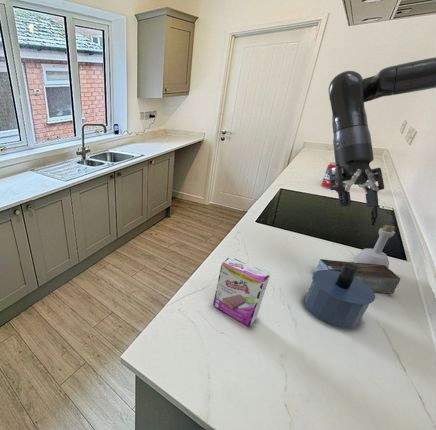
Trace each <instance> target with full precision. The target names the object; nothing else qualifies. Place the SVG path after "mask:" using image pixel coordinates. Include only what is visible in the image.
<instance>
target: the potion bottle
mask: <svg viewBox="0 0 436 430" xmlns="http://www.w3.org/2000/svg"><path fill="white" fill-rule="evenodd" d="M395 228H396V226H394V225H385V224H383V226H382V227H380V228H379V229H378V235H379V237H378V238H377V241H376V242H375V245H374V246H373V248H369V247H368V248H363V249H361V250H360V251H359V252H358V253H357V254H356V255H355V256H354V257H353V262H355V263H367V264H378V265H385V266H386V267H387V268H388V269H390V260H389V257H388V255H387V253H385V252H383V250H384V248H385V246H386V244H387V242H388V240H389V239H390V238H392V237H394V235H395V234H396V232H395Z"/></svg>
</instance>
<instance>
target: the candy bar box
mask: <svg viewBox="0 0 436 430" xmlns="http://www.w3.org/2000/svg"><path fill="white" fill-rule="evenodd" d="M270 278H271V274H270V273H268V272H266V271H263V270H262V269H259V268H257V267H255V266H253V265H250V264H248V263H246V262H243V261H241V260H239V259H237V258H234V257H232V256H228V257H227V258H226V259H225V260H224V261H222V263H221V265H220V270H219V275H218V279H217V284H216V289H215V294H214V298H213V303H212V307H214V308H216V309H217V310H219V311H221V312H223V313H224V314H226V315H228V316H230V317H231V318H233V319H234V320H236V321H238V322H240V323H241V324H243V325H245V326H247V327H249V328H250V327H251V326H252V324H253V323H254V322H255V320H256V319H257V317H258V314H259V311H260V308H261V305H262V301H263V298H264V296H265V292H266V289H267V286H268V284H269V280H270Z"/></svg>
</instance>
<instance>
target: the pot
mask: <svg viewBox="0 0 436 430" xmlns="http://www.w3.org/2000/svg"><path fill="white" fill-rule="evenodd" d="M304 305H305V307H306V309H307V310H308V311H309V313H311V315H313V316H314V317H315V318H317V319H318V320H320V321H322V322H324V323H325V324H328V325H331V326H334V327H337V328H341V329H351V328H355V327H357V326H358V325H359V323H360V321H361V319H362V318H363V316H364V314H365V313H366V311H367V309H368V308H369V306H370V304H368V305H355V304H349V303H346V302H342V301H340V300H337V299H335V298H333V297H331V296H329V295H327V294H325V293H324V292H322V291H321V290H320V289H319V288H318V287H317V286H316V285H315V284H314V282H313V280H311V283H310V286H309V288H308V291H307V293H306V296H305V298H304Z"/></svg>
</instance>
